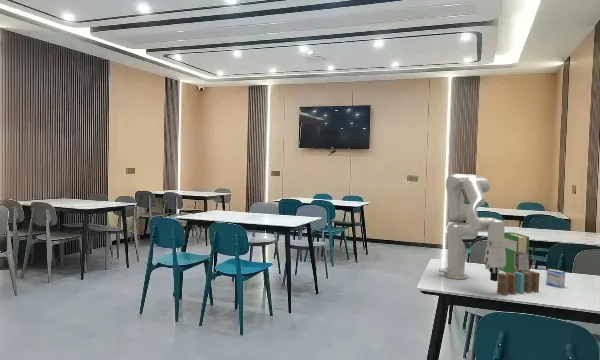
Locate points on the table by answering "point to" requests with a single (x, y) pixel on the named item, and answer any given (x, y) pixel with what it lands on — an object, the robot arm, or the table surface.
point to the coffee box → (522, 262)
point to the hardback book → (514, 248)
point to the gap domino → (519, 282)
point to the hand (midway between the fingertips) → (493, 280)
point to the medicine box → (555, 278)
